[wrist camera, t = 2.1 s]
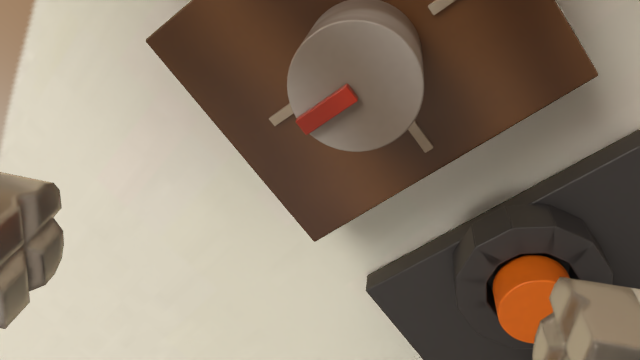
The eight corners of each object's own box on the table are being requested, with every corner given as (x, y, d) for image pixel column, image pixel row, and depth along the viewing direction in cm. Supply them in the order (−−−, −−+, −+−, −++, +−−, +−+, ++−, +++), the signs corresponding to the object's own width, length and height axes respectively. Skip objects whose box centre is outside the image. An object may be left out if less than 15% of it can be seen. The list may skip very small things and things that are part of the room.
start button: (477, 275, 24) (482, 302, 23) (546, 241, 23) (556, 267, 22) (516, 326, 25) (522, 355, 24) (584, 295, 24) (595, 324, 23)
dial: (377, -28, 19) (370, -9, 16) (445, 71, 21) (451, 109, 17) (281, 44, 21) (256, 76, 17) (350, 133, 22) (339, 180, 19)
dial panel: (430, -195, 20) (432, -207, 17) (577, 52, 23) (601, 77, 20) (173, 23, 24) (142, 41, 21) (323, 207, 27) (313, 245, 24)
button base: (361, 268, 28) (355, 309, 26) (634, 119, 23) (662, 150, 21) (538, 483, 33) (549, 536, 30) (797, 395, 28) (837, 449, 25)
